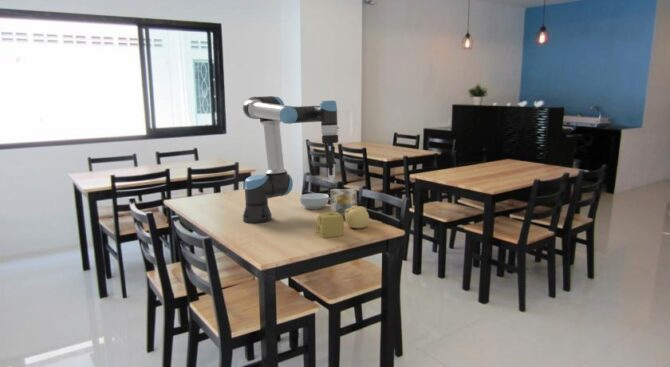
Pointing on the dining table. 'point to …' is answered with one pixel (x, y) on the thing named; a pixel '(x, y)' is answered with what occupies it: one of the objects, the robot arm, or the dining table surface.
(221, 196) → the dining table surface
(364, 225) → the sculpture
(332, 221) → the cheese
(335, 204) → the stand
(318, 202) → the cereal bowl
